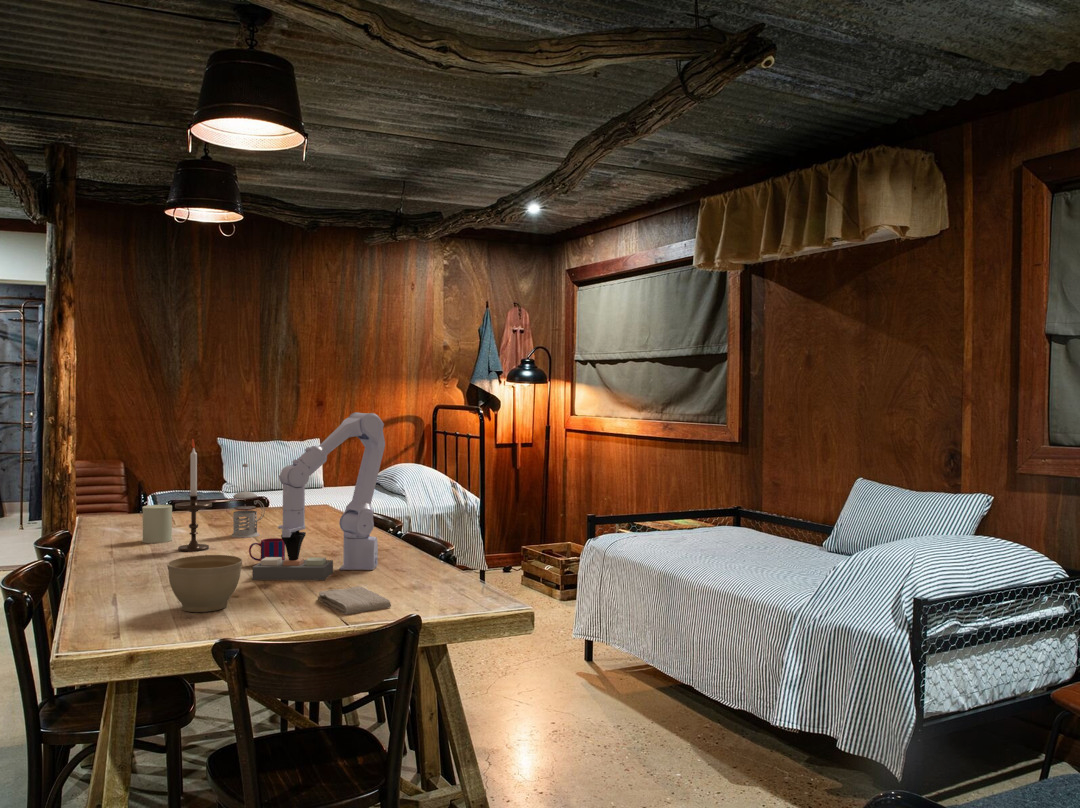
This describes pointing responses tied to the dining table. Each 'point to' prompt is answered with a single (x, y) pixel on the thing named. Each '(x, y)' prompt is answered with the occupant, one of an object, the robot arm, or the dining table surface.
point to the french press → (245, 515)
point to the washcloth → (353, 600)
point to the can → (157, 523)
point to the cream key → (271, 561)
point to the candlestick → (193, 508)
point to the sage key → (315, 561)
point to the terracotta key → (293, 562)
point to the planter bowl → (204, 581)
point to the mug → (270, 548)
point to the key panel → (292, 572)
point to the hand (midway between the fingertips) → (293, 559)
